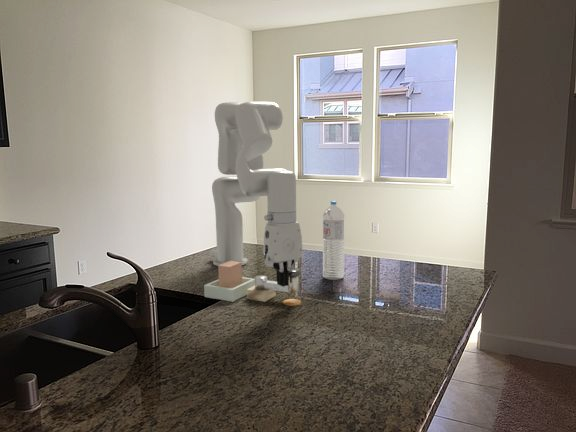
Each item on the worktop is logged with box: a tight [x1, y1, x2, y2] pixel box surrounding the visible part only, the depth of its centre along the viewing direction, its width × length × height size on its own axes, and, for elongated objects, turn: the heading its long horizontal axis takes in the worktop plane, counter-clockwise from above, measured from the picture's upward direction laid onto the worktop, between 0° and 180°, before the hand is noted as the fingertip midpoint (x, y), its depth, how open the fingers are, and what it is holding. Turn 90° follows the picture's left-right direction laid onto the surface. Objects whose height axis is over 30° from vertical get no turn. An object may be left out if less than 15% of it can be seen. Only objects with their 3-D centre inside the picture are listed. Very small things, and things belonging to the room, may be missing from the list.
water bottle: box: [322, 200, 345, 281], centre depth 158 cm, size 7×7×25 cm
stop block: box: [217, 261, 243, 289], centre depth 144 cm, size 4×6×8 cm, turn 151°
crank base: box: [246, 286, 302, 307], centre depth 138 cm, size 16×6×3 cm, turn 61°
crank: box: [254, 268, 301, 294], centre depth 138 cm, size 14×4×6 cm, turn 65°
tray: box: [203, 276, 255, 303], centre depth 144 cm, size 10×12×4 cm
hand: (282, 284), depth 132 cm, fingers closed
